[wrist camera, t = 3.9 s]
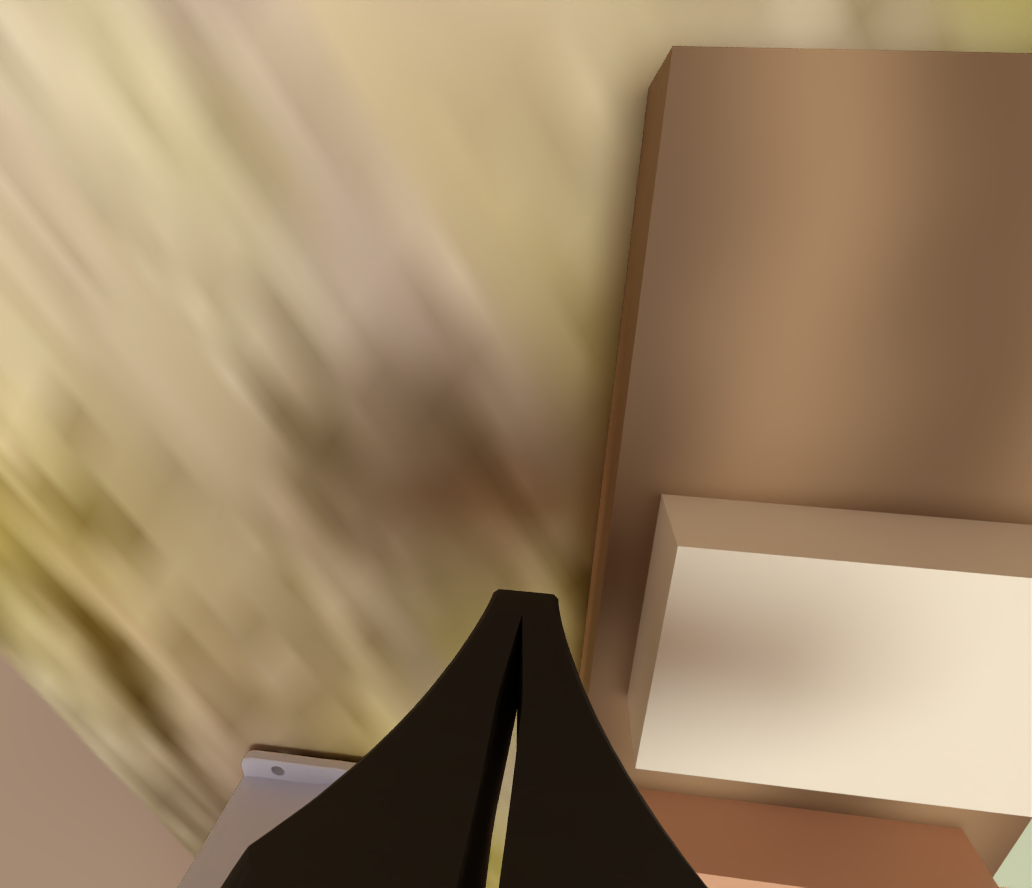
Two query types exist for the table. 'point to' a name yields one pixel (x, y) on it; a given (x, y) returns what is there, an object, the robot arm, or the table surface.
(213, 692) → the table surface
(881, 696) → the tile
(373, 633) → the table surface
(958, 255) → the board
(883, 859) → the tile
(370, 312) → the table surface
